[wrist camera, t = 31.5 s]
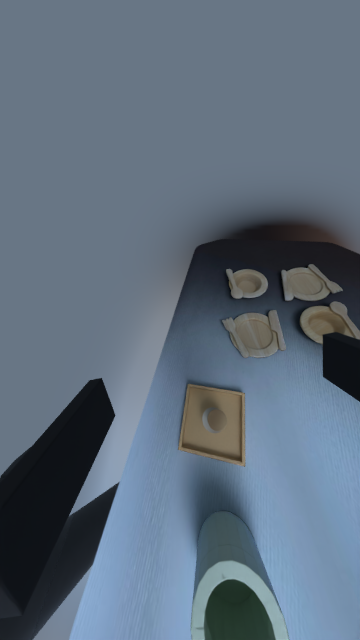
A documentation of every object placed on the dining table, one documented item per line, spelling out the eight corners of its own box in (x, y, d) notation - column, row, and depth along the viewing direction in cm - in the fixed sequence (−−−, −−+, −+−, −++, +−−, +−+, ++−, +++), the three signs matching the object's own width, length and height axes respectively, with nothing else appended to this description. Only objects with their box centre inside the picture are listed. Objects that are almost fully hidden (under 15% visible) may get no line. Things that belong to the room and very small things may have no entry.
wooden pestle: (201, 429, 38) (194, 439, 19) (204, 406, 40) (199, 394, 21) (223, 434, 37) (237, 449, 18) (224, 410, 39) (238, 401, 20)
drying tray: (179, 448, 37) (178, 449, 35) (188, 385, 43) (187, 383, 41) (243, 464, 34) (245, 466, 32) (243, 394, 40) (244, 392, 39)
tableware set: (227, 361, 45) (229, 356, 41) (213, 279, 60) (214, 270, 56) (376, 351, 41) (391, 344, 37) (321, 266, 56) (329, 256, 52)
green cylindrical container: (194, 588, 27) (184, 702, 16) (201, 503, 32) (197, 547, 21) (260, 616, 25) (301, 770, 14) (257, 520, 30) (286, 579, 19)
